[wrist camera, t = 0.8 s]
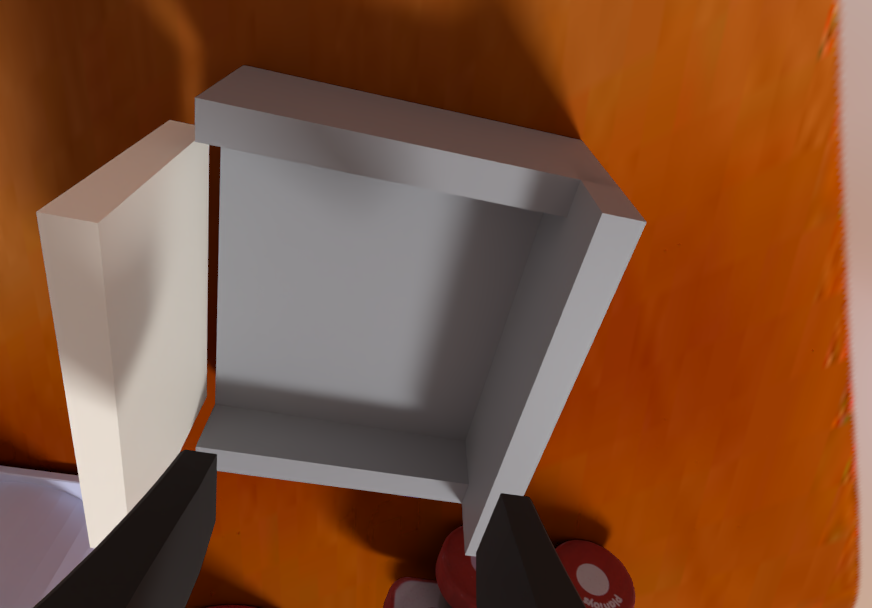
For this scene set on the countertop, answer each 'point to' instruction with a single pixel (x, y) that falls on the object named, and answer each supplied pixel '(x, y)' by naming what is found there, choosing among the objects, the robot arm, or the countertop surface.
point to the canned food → (231, 606)
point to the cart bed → (400, 289)
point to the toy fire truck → (456, 578)
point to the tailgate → (131, 314)
